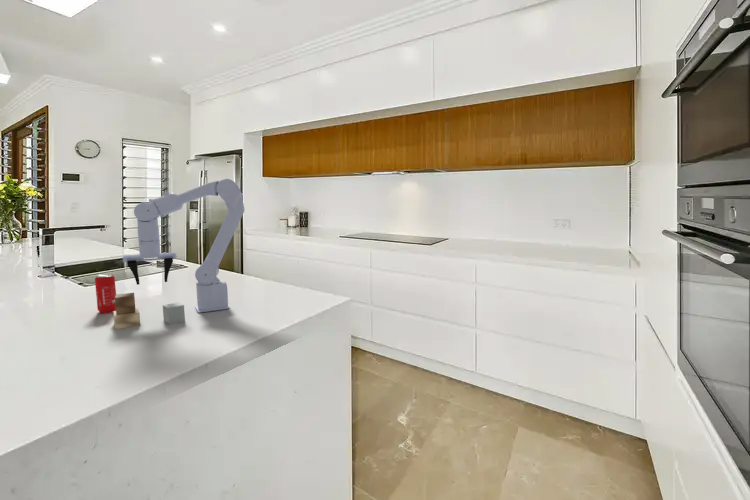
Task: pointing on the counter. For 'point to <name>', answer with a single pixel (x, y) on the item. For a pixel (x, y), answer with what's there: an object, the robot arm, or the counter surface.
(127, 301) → the walnut block
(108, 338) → the counter surface
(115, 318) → the maple base
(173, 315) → the grey block
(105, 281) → the beverage can
